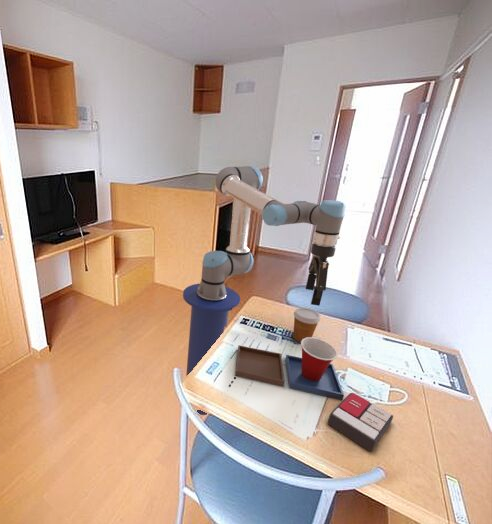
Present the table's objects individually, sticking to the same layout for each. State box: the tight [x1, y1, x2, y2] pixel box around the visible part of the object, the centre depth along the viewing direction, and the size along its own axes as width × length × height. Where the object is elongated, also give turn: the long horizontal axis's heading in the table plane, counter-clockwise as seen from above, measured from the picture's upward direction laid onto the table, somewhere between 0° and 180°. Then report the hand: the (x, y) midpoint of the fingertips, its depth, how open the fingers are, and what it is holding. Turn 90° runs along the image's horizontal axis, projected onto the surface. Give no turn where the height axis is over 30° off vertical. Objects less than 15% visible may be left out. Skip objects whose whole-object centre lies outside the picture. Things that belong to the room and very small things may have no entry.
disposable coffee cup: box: [292, 307, 321, 343], centre depth 123 cm, size 10×10×12 cm
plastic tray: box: [284, 354, 345, 401], centre depth 104 cm, size 15×15×2 cm
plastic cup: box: [300, 336, 339, 381], centre depth 102 cm, size 11×11×12 cm
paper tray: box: [235, 344, 285, 387], centre depth 109 cm, size 15×15×2 cm
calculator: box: [327, 392, 394, 452], centre depth 86 cm, size 11×4×15 cm
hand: (312, 296), depth 117 cm, fingers open, 13 cm apart
